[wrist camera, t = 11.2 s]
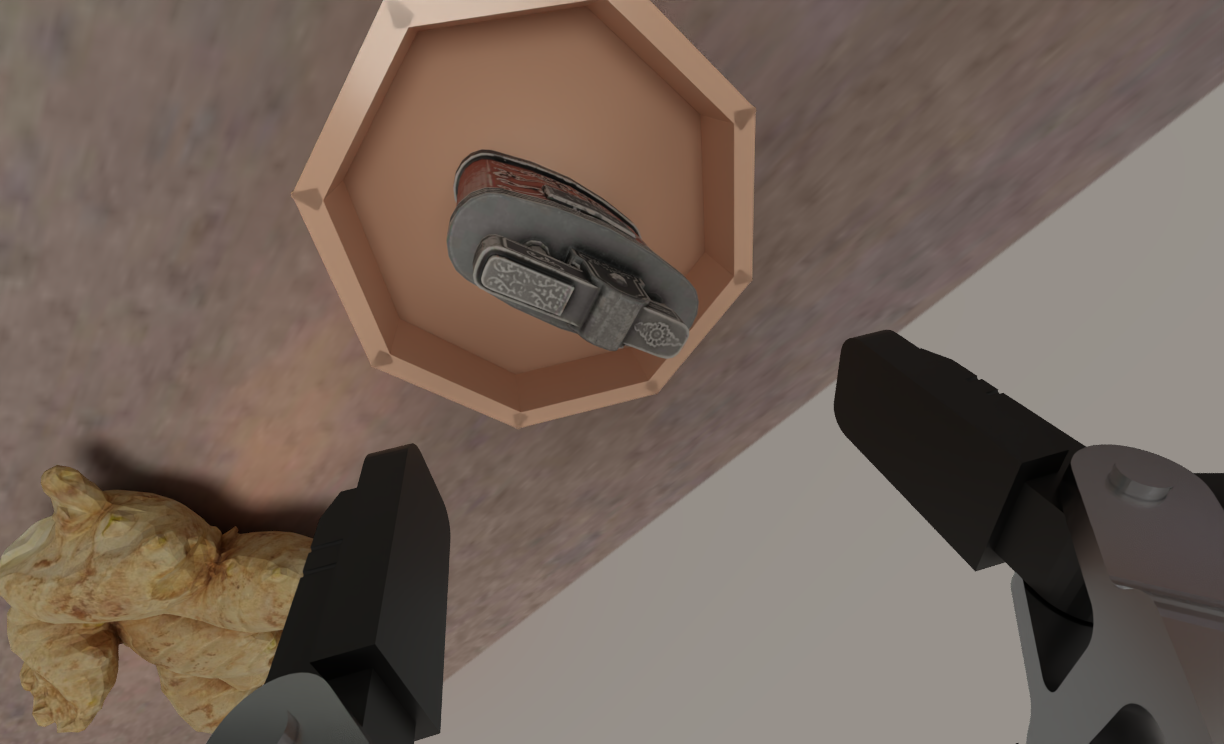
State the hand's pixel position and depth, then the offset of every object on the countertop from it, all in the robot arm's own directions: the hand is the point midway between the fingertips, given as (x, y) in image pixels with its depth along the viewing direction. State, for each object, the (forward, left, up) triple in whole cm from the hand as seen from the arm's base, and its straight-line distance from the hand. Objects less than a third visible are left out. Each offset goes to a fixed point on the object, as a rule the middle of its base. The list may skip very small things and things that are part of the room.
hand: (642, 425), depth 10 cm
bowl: (0, 0, -15) cm, 15 cm away
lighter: (0, 0, -15) cm, 15 cm away
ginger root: (+21, +14, -16) cm, 30 cm away
